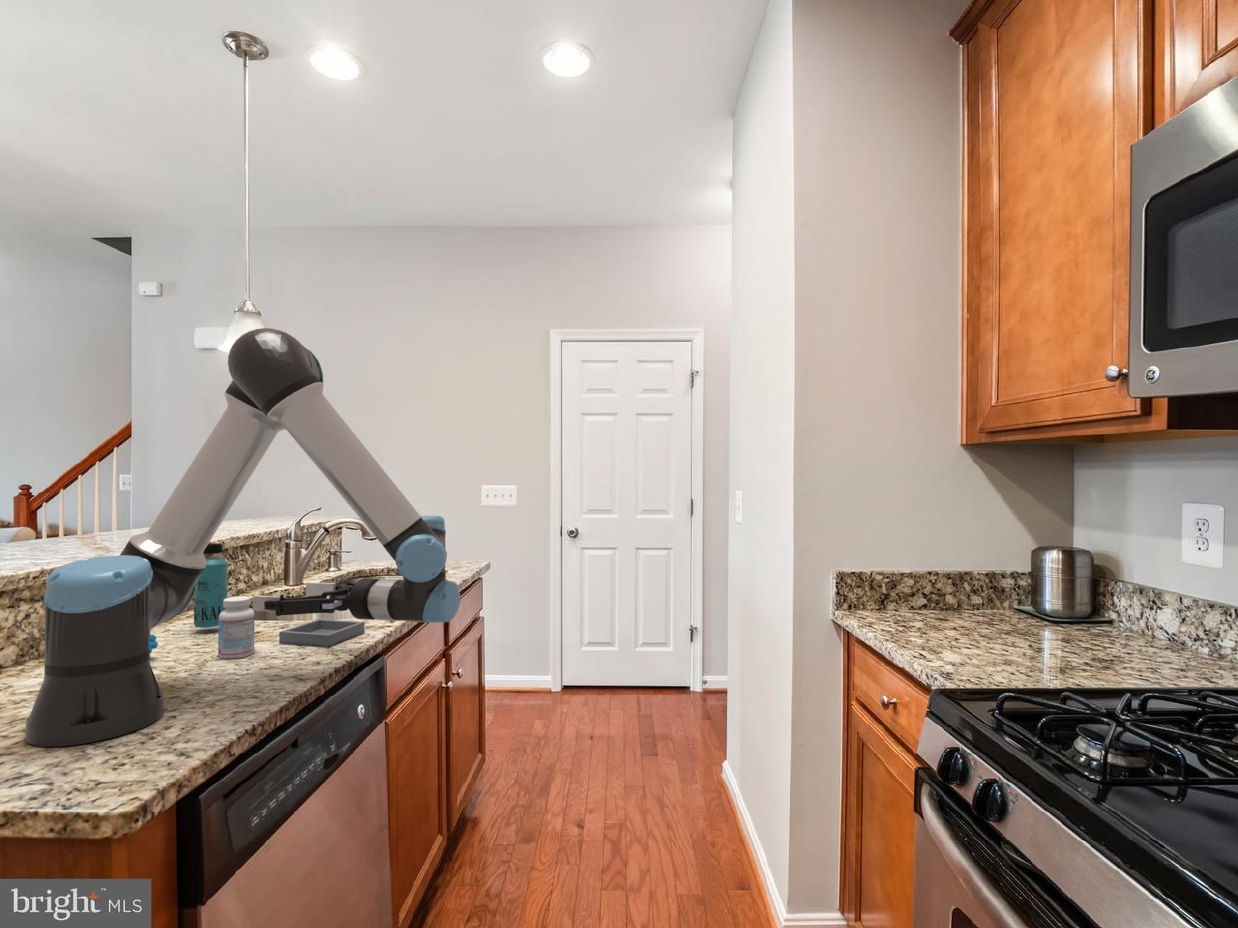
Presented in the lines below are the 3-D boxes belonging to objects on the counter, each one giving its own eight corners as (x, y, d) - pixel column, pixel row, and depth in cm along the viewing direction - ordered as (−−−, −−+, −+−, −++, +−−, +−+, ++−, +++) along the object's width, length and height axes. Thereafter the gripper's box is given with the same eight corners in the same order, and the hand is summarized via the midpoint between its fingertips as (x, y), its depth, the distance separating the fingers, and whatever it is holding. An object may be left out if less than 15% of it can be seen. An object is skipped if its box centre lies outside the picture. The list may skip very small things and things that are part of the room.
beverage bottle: (202, 627, 145) (204, 541, 145) (233, 627, 145) (234, 541, 146) (186, 635, 138) (187, 545, 138) (218, 634, 139) (219, 544, 139)
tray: (328, 647, 129) (328, 635, 129) (279, 643, 132) (279, 631, 132) (364, 633, 141) (364, 622, 141) (318, 629, 143) (318, 618, 143)
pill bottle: (225, 651, 126) (225, 596, 126) (258, 649, 127) (259, 594, 127) (212, 660, 120) (213, 602, 120) (247, 658, 121) (248, 600, 121)
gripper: (333, 636, 104) (229, 631, 109) (414, 605, 129) (326, 601, 134) (333, 592, 105) (228, 588, 109) (414, 568, 129) (325, 566, 134)
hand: (282, 595), depth 121 cm, fingers open, 13 cm apart
